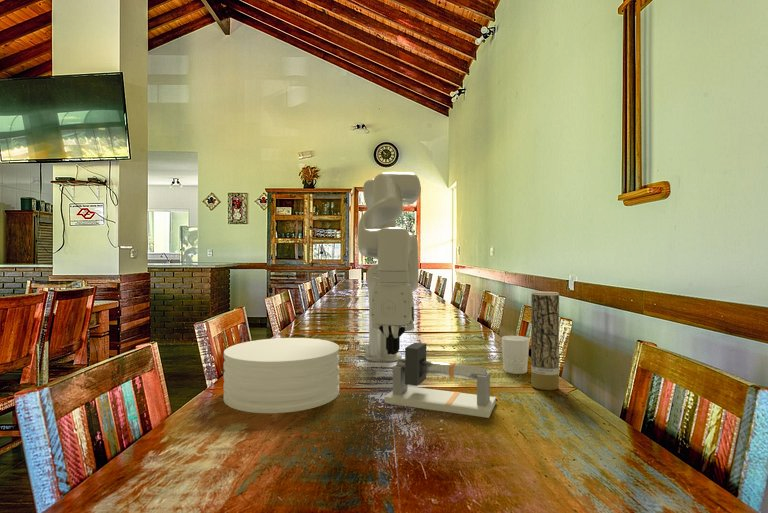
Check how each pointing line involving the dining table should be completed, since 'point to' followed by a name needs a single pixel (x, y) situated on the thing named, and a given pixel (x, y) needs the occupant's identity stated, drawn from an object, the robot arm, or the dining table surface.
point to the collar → (414, 363)
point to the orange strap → (451, 374)
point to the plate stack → (281, 374)
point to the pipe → (446, 369)
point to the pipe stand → (442, 397)
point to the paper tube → (545, 340)
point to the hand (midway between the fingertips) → (392, 353)
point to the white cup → (515, 354)
